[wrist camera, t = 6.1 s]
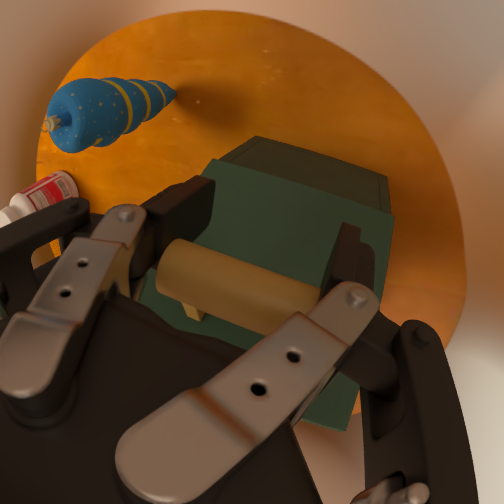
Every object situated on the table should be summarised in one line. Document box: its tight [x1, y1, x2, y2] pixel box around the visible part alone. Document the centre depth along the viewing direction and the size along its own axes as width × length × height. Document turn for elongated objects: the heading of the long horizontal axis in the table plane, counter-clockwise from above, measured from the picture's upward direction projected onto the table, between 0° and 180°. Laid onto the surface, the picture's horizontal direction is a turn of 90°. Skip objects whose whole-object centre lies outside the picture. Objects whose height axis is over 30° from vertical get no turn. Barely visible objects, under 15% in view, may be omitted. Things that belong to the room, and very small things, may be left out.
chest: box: [218, 136, 392, 215], centre depth 25 cm, size 12×12×8 cm
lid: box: [139, 159, 394, 432], centre depth 14 cm, size 12×12×6 cm
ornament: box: [41, 77, 177, 153], centre depth 20 cm, size 5×5×15 cm
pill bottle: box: [0, 171, 79, 228], centre depth 34 cm, size 6×6×11 cm
